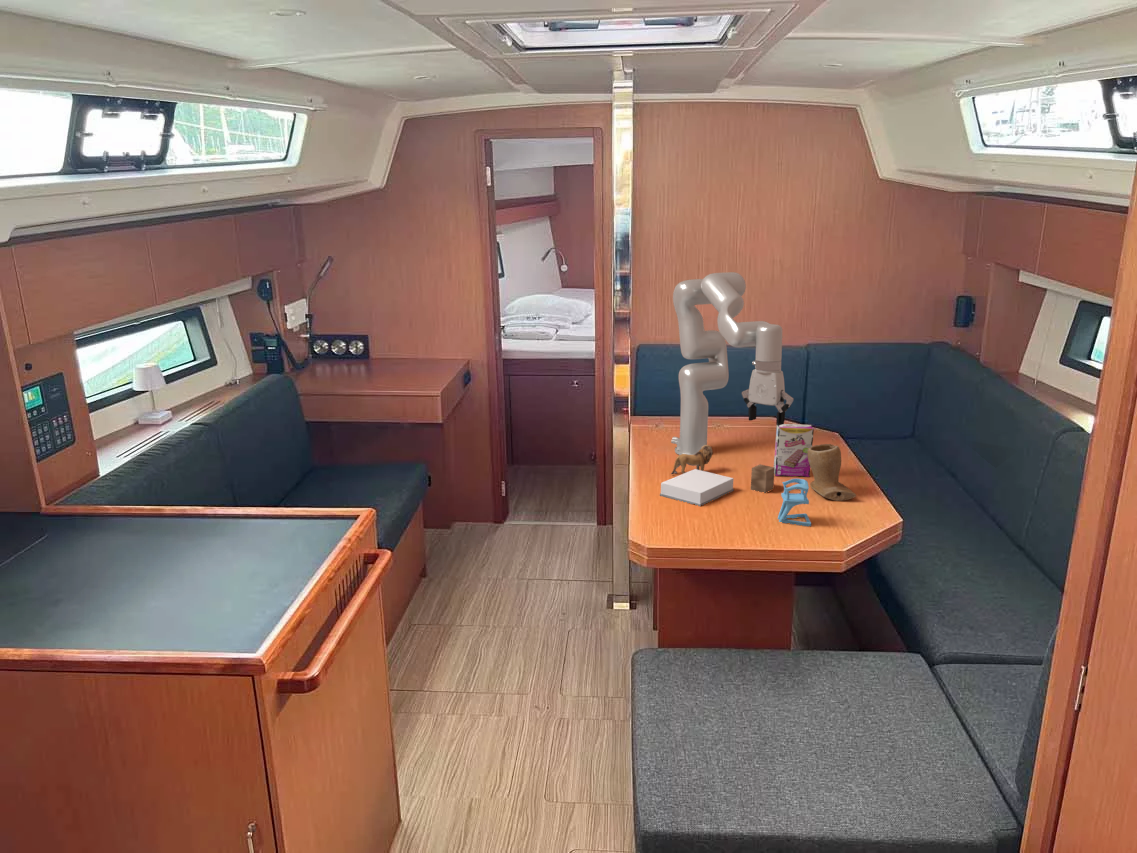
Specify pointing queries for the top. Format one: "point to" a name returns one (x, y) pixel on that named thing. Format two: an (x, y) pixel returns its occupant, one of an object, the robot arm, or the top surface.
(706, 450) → the lion figurine
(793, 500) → the chair
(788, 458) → the candy bar box
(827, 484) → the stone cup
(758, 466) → the walnut block
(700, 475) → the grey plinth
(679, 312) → the robot arm
